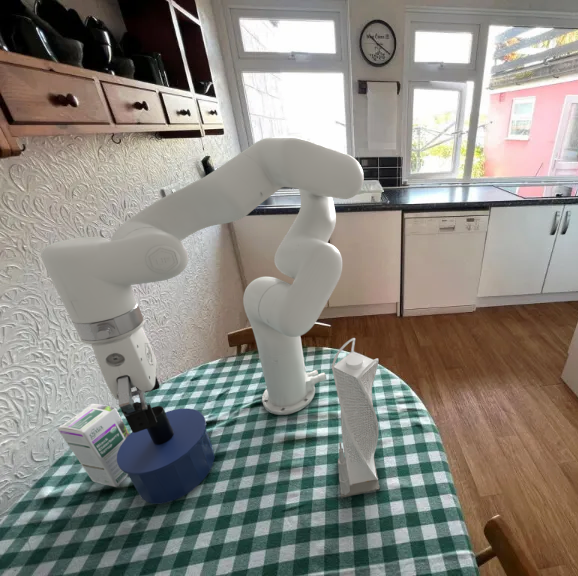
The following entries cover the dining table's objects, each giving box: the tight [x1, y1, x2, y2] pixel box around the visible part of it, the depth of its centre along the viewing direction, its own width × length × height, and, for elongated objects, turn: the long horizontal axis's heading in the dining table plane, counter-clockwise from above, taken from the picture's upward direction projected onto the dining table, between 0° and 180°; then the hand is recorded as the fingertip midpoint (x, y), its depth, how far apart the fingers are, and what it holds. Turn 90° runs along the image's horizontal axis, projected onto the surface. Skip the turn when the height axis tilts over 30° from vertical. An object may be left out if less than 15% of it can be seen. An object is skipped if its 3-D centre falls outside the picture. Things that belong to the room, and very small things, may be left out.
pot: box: [127, 429, 215, 505], centre depth 59 cm, size 13×13×8 cm
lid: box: [117, 405, 207, 475], centre depth 56 cm, size 14×14×7 cm
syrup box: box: [57, 403, 131, 488], centre depth 57 cm, size 6×6×14 cm
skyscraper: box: [331, 337, 380, 499], centre depth 54 cm, size 8×8×28 cm
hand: (147, 407), depth 53 cm, fingers open, 9 cm apart
